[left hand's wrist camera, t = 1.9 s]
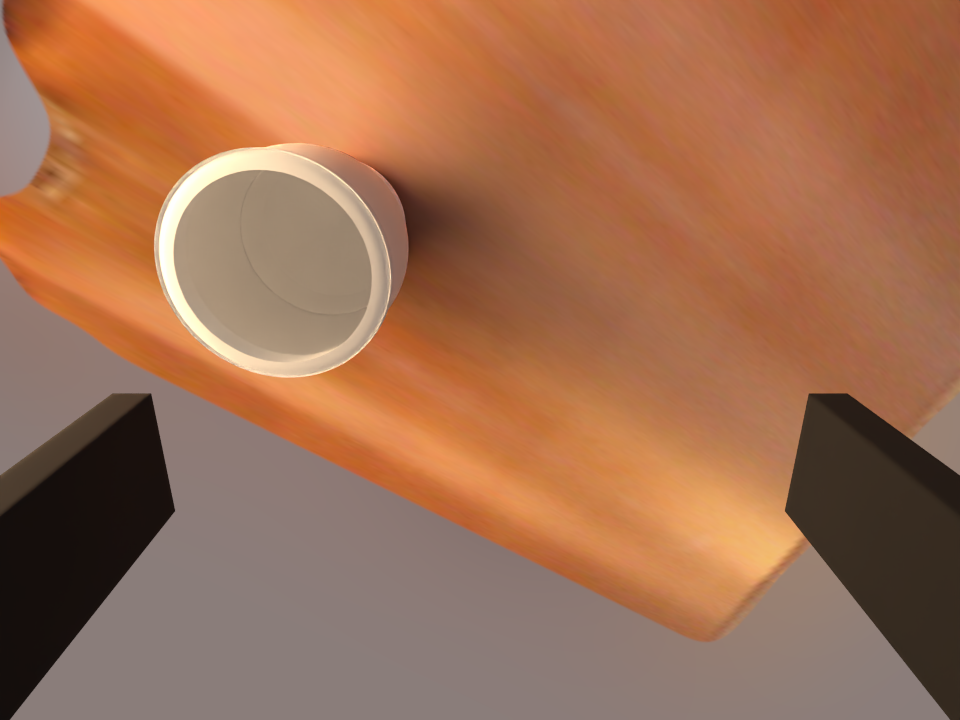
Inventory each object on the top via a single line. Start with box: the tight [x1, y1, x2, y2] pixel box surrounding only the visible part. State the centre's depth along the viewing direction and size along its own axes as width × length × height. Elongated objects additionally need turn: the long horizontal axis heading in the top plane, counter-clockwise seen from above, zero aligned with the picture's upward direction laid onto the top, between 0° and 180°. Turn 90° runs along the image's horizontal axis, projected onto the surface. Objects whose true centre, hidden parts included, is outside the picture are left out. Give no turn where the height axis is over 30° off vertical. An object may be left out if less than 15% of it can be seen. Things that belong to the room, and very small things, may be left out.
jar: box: [154, 143, 409, 377], centre depth 34 cm, size 11×10×15 cm
